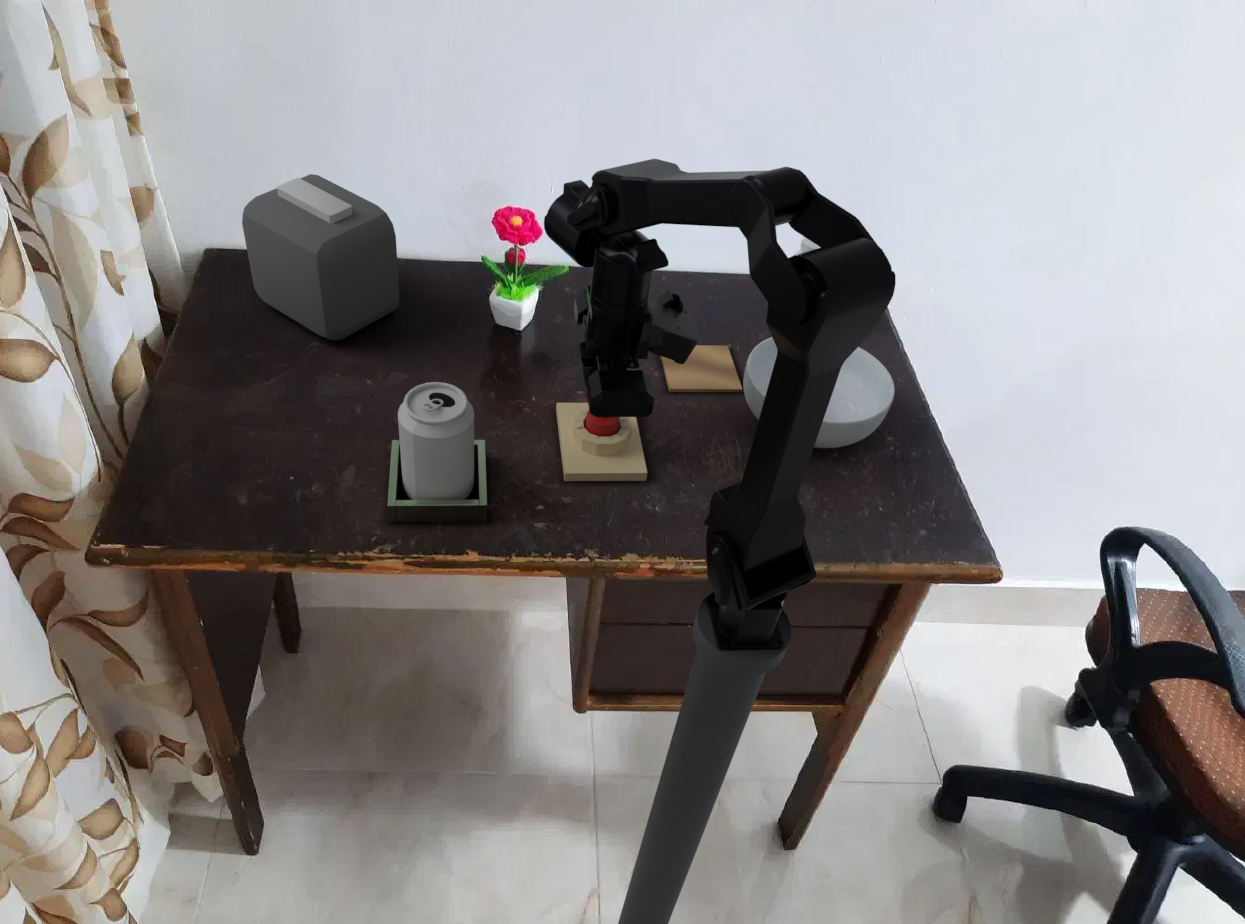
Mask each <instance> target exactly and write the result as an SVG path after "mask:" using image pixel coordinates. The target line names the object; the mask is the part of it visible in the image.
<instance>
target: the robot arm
mask: <svg viewBox="0 0 1245 924" xmlns="http://www.w3.org/2000/svg"><path fill="white" fill-rule="evenodd" d="M785 224H788V225H789V227H790V228H791V229H793V230H794V231H795V232H796V233H798V234H799V235H801V236H803V237H806V238H807V239H809V240H810V241H812V242H813V243H815V244H816V245H818V246H819V247H821V248H818V249H815V250H811V251H808V252H804V253H801V254H798V255H794V254H793V255H794V256H793V255H792V256H790V257H788V255H787V254H786V253H785V251H784V249H783V248H782V247H781V246H780V244H779V242H778V236H777V228H776V227H777V226H781V225H785ZM658 225H683V226H702V227H720V228H721V227H723V228H737V229H739V231H740V232H741V234H742V235H743V236H744V238H745V239H746V246H747V258H748V259H747V260H748V271H749V275H750V278H751V279H752V281H753V283H754V284H755V285H756V287H757V288H758V290H759V291H760V293H761V295H762V296H763V297H764V299H765V300H766V302H767V311H766V312H767V313H766V321H765V322H766V326H767V328H768V331H769V333H770V335H771V337H772V338H773V340H774V342H775V345H776V347H777V356H776V360H775V363H774V367H773V370H772V374H771V377H770V381H769V385H768V388H767V392H766V395H765V399H764V403H763V406H762V410H761V413H760V417H759V420H758V419H757V424H756V428H755V432H754V435H753V439H752V443H751V446H750V449H749V453H748V457H747V460H746V464H745V467H744V470H743V475H742V478H741V480H739V481H737V482H735V483H732V484H729V485H726V486H725V487H722V488H720V489H717V490H715V491H714V492H713V494H712V496H711V498H710V503H709V510H708V511H709V513H708V515H707V518H705V519H704V520H703V524H704V526H707V529H706V533H705V551H706V552H705V553H706V575H707V576H706V577H707V583H708V585H709V586H710V587H711V588H712V589H713V590H714V591H715V594H716V595H710V596H708V595H707V596H708V597H707V596H706V597H707V606H708V610H709V614H710V619H711V623H712V627H713V631H714V636H715V640H716V644H717V647H718V649H720V650H769V649H782V648H783V645H784V641H783V638H782V634H781V631H780V628H779V624H778V621H777V620H778V618H779V615H780V612H781V610H782V609H783V606H784V603H785V601H786V598H787V595H788V592H791V591H792V590H794V589H797V588H799V587H801V586H805V585H807V584H809V583H810V582H812V581H813V580H814V579H815V578H816V577H817V572H816V568H815V565H814V562H813V558H812V555H811V553H810V550H809V546H808V542H807V540H806V536H805V529H806V521H807V513H806V511H805V509H804V507H803V505H802V503H801V501H800V498H799V492H800V489H801V486H802V484H803V480H804V477H805V475H806V471H807V469H808V466H809V463H810V461H811V457H812V454H813V451H814V449H815V448H814V446H815V443H816V440H817V437H818V434H819V431H820V428H821V425H822V422H823V419H824V416H825V413H826V411H827V408H828V405H829V402H830V399H831V396H832V393H833V390H834V387H835V384H836V381H837V378H838V376H839V373H840V370H841V367H842V365H843V363H844V362H845V360H846V359H847V358H848V357H849V356H850V355H851V354H852V353H853V352H854V351H855V350H856V349H857V348H858V347H860V346H861V345H862V344H863V343H864V342H865V341H866V340H867V339H868V338H869V336H870V335H871V334H872V333H873V332H874V331H875V329H876V328H877V326H878V324H879V322H880V321H881V318H882V317H883V315H884V314H885V312H886V310H887V308H888V306H889V305H890V303H891V301H892V298H893V297H894V295H895V290H896V273H895V271H893V270H892V265H891V263H890V261H889V259H888V257H887V255H886V254H885V252H884V250H883V248H881V247H880V246H879V244H878V243H877V242H876V241H875V239H874V238H873V237H872V235H871V234H870V232H869V231H868V230H867V228H866V227H865V226H864V225H863V223H862V222H861V220H860V219H859V218H858V217H856V216H855V215H854V214H852V213H851V212H849V211H848V210H846V209H845V208H843V207H842V206H840V205H838V204H837V203H835V202H833V201H832V200H831V199H829V198H828V197H826V196H824V195H823V194H821V193H820V192H819V191H818V190H817V189H816V187H815V186H814V184H813V182H811V180H810V179H809V178H808V176H807V175H806V174H805V173H804V172H803V171H802V170H800V169H797V168H794V167H789V166H782V167H779V168H773V169H768V170H739V171H738V170H737V171H736V170H735V171H734V170H733V171H703V172H702V171H701V172H699V171H697V172H694V171H693V172H688V171H684V170H681V168H680V166H679V165H678V164H676V163H675V162H670V161H668V160H667V161H666V160H662V159H658V158H651V159H646V160H641V161H637V162H632V163H628V164H623V165H619V166H614V167H609V168H605V169H600V170H597V171H595V172H594V173H593V174H592V176H591V186H590V187H589V186H588V184H587V183H586V182H585V181H583V180H582V179H578V180H574V181H568V182H565V183H563V190H562V193H561V194H560V195H559V196H558V197H557V198H555V200H554V201H553V202H552V203H551V205H550V207H549V208H548V210H547V212H546V214H545V215H544V219H543V228H544V231H545V234H546V235H547V237H548V239H550V240H551V241H552V242H553V243H554V244H555V245H556V246H557V247H559V248H560V249H561V250H562V251H563V252H564V253H565V254H566V255H567V256H568V257H569V258H571V259H572V261H573V262H575V263H576V264H577V265H578V266H580V267H581V268H586V269H591V268H592V270H591V279H590V280H591V281H590V285H586V289H584V290H582V291H581V292H579V293H578V294H577V295H576V296H575V297H574V306H573V314H574V315H573V316H574V322H575V325H576V326H578V325H579V326H580V325H582V324H583V325H582V330H583V336H584V341H582V342H580V343H579V345H578V348H579V354H580V360H581V364H582V374H583V380H584V385H585V386H586V399H587V403H588V405H589V412H590V414H592V415H593V416H595V417H636V418H648V417H649V416H651V415H652V414H653V410H654V404H655V395H654V394H655V393H654V390H653V385H652V382H651V378H650V376H649V375H648V374H647V373H646V372H644V370H642V369H641V367H640V363H639V360H648V358H649V352H650V353H651V354H654V355H656V356H659V357H660V356H662V357H665V358H668V359H671V360H674V362H675V363H678V364H684V363H685V362H686V360H687V359H688V357H689V356H690V354H691V352H692V351H693V349H694V348H695V346H696V345H698V343H699V341H700V340H701V336H700V334H699V333H700V332H699V331H698V328H697V324H696V320H695V319H694V318H693V316H691V314H690V311H689V310H687V309H686V310H684V301H683V297H682V294H681V293H680V292H677V291H675V290H673V289H668V290H666V291H665V292H664V293H662V294H661V295H660V296H658V297H657V298H656V299H654V300H653V302H649V301H648V300H649V294H650V288H651V287H650V286H651V280H652V273H653V271H656V270H659V269H664V268H667V267H668V266H669V259H668V257H667V254H666V253H665V251H663V250H662V249H661V247H660V246H659V243H658V241H657V238H648V237H647V236H646V235H645V234H644V233H642V232H641V231H639V230H642V229H646V228H650V227H653V226H658ZM584 316H587V318H586V319H584ZM711 600H713V601H711ZM777 643H779V644H780V645H778V644H777ZM721 644H723V645H724V646H722V645H721Z"/></svg>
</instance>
